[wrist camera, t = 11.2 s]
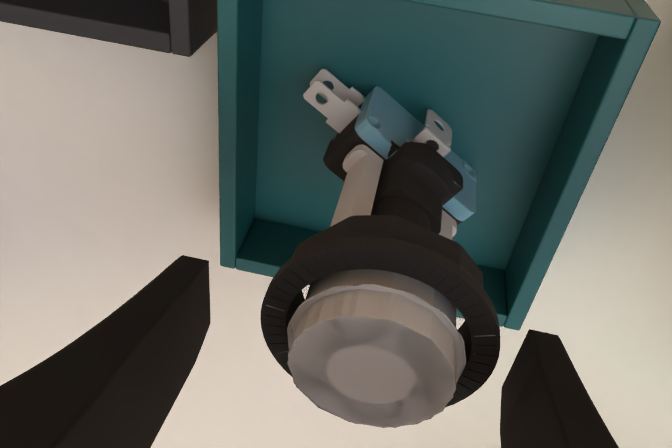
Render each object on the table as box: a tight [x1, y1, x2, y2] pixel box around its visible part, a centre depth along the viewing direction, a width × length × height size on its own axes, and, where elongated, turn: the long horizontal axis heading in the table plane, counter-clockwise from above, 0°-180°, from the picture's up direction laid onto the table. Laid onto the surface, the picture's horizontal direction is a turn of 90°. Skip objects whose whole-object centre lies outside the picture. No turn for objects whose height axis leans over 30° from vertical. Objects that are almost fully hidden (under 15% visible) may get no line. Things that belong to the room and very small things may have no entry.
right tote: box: [217, 0, 661, 330], centre depth 19 cm, size 11×11×3 cm
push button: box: [261, 69, 500, 428], centre depth 16 cm, size 7×5×10 cm
